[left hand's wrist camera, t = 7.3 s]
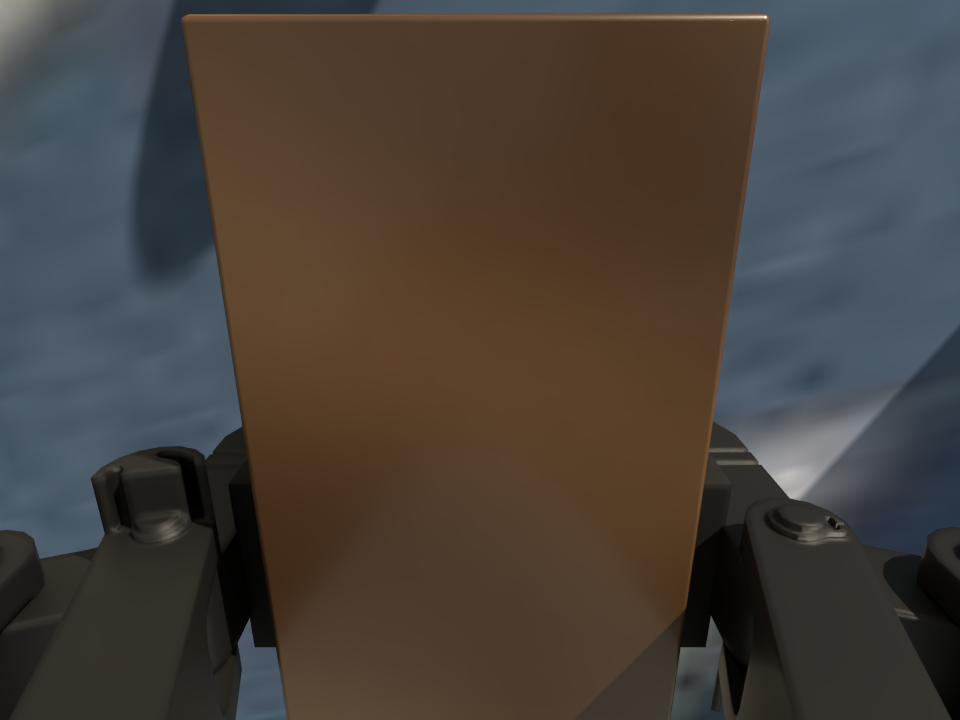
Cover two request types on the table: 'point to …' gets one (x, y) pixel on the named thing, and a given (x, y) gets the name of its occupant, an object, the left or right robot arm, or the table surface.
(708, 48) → the post
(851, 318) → the table surface
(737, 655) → the left robot arm
